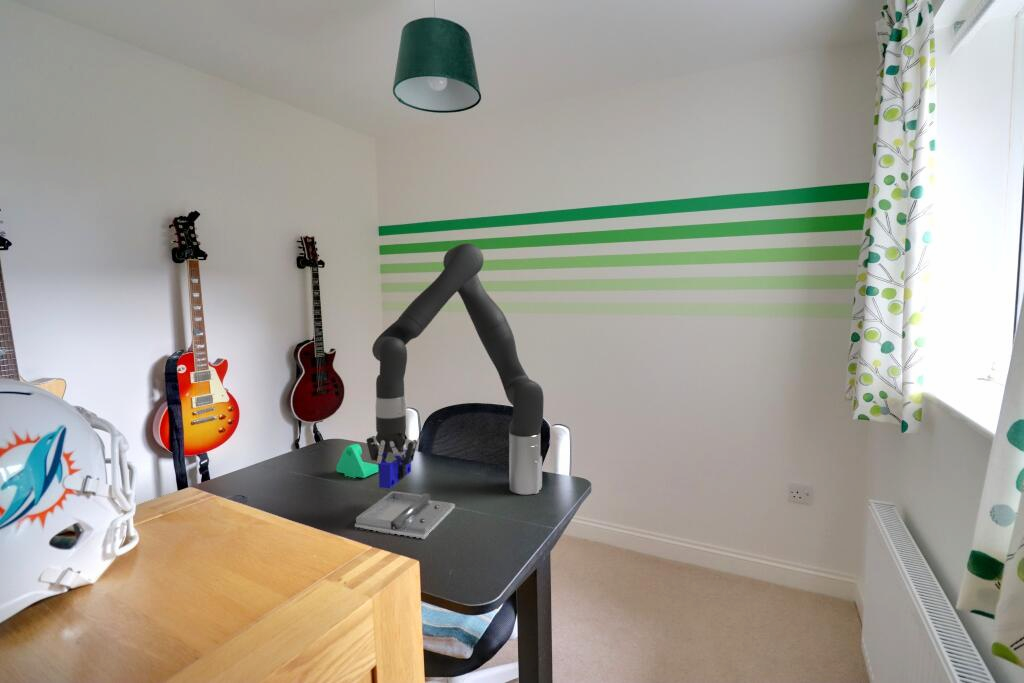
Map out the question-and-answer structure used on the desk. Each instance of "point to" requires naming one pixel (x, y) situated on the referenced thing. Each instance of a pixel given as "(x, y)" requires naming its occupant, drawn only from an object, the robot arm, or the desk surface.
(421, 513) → the hinge plate
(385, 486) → the blue stepped long block
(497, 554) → the desk surface
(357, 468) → the camera mount
